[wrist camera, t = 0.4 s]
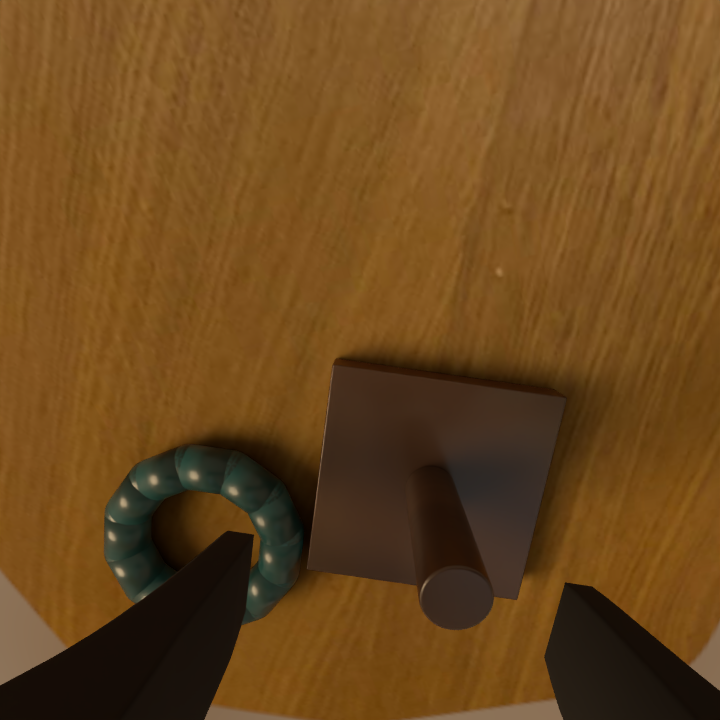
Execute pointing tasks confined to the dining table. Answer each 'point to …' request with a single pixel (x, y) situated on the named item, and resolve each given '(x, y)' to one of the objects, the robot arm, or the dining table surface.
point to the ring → (213, 475)
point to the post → (432, 484)
